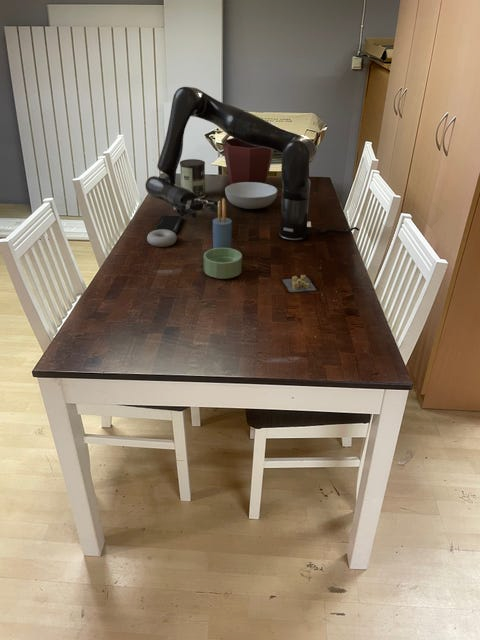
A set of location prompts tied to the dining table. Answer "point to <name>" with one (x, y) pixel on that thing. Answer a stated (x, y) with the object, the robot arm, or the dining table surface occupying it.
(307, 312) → the dining table surface
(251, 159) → the bucket
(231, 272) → the bowl
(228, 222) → the breadstick jar
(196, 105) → the robot arm
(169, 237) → the donut
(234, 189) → the serving bowl
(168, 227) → the phone
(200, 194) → the coffee can
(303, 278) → the carved rune cylinders
